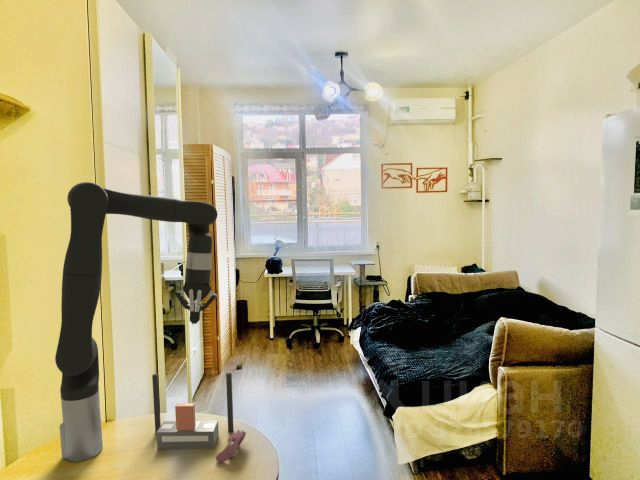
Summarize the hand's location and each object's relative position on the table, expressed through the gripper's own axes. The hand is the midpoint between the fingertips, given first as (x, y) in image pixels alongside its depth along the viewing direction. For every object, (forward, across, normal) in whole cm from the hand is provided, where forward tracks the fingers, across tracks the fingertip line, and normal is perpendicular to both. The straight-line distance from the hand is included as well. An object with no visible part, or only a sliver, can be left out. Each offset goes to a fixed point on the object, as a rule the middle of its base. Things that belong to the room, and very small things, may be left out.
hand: (194, 323), depth 135 cm
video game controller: (+32, +16, -15) cm, 39 cm away
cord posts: (+32, +3, -3) cm, 33 cm away
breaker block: (+33, +3, -9) cm, 34 cm away
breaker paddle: (+28, +2, -11) cm, 30 cm away
